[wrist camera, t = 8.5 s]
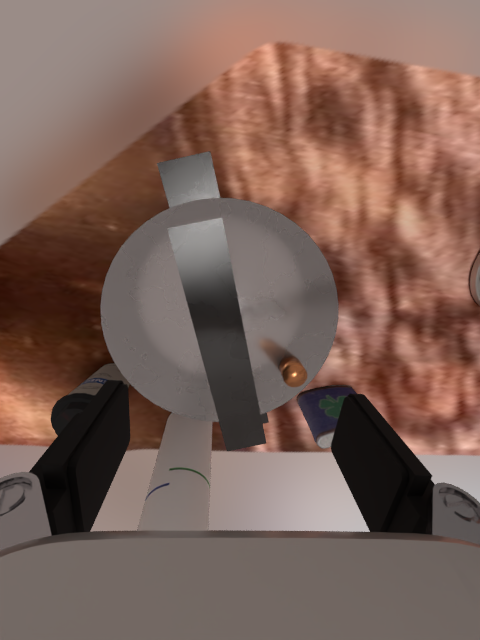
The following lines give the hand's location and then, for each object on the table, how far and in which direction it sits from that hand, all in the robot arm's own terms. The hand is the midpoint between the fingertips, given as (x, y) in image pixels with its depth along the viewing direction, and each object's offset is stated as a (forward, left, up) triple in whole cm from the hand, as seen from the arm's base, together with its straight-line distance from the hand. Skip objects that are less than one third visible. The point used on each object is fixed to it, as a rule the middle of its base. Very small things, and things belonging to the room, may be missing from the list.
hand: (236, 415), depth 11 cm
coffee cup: (+18, +9, -24) cm, 32 cm away
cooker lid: (0, 0, -12) cm, 12 cm away
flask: (-12, +20, -24) cm, 34 cm away
